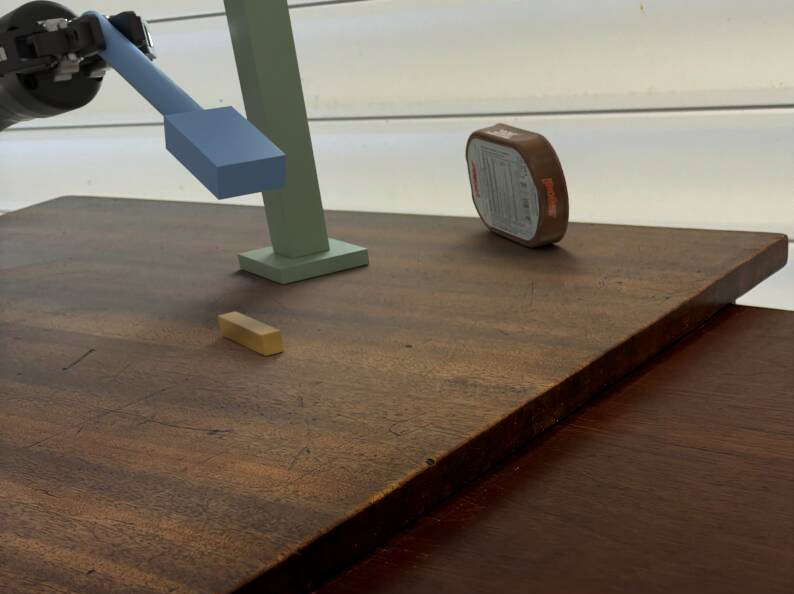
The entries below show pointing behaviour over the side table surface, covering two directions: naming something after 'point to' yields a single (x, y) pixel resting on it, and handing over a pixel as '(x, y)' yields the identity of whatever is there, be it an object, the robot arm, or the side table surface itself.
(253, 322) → the fry
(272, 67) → the stand
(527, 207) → the tin
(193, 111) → the blue toy mallet
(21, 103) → the robot arm
